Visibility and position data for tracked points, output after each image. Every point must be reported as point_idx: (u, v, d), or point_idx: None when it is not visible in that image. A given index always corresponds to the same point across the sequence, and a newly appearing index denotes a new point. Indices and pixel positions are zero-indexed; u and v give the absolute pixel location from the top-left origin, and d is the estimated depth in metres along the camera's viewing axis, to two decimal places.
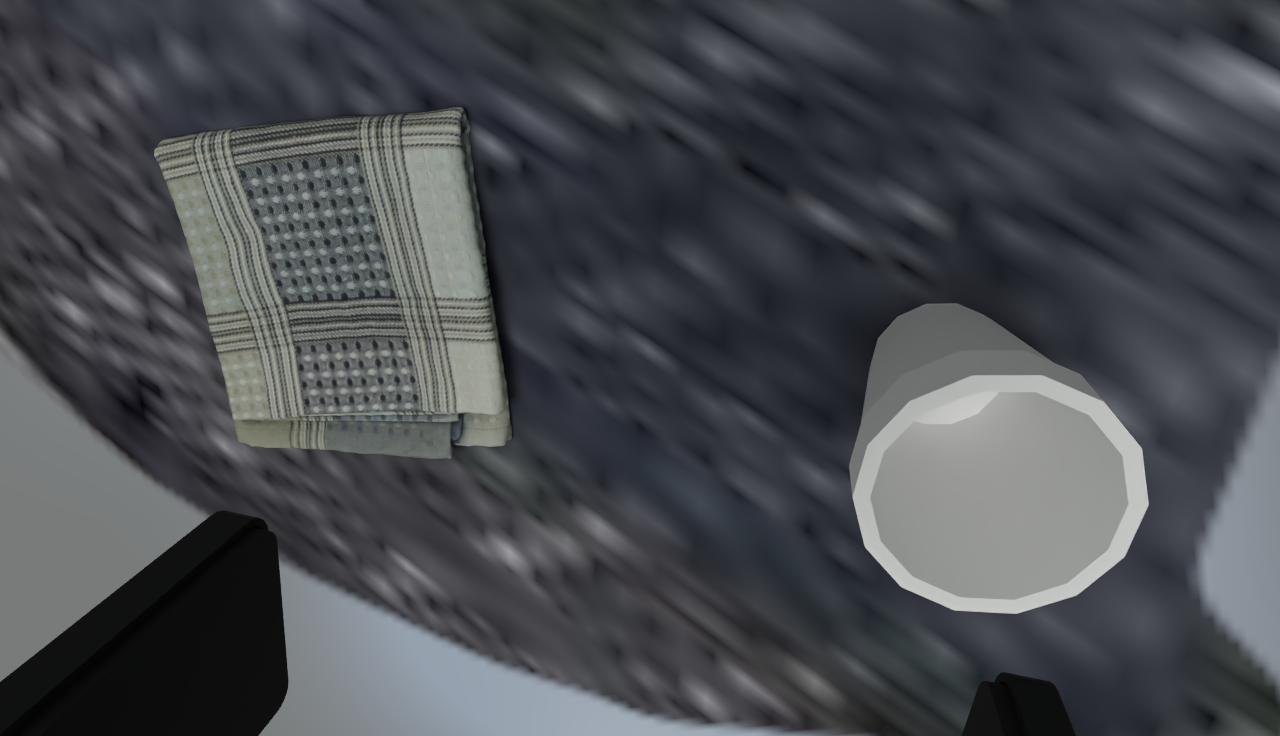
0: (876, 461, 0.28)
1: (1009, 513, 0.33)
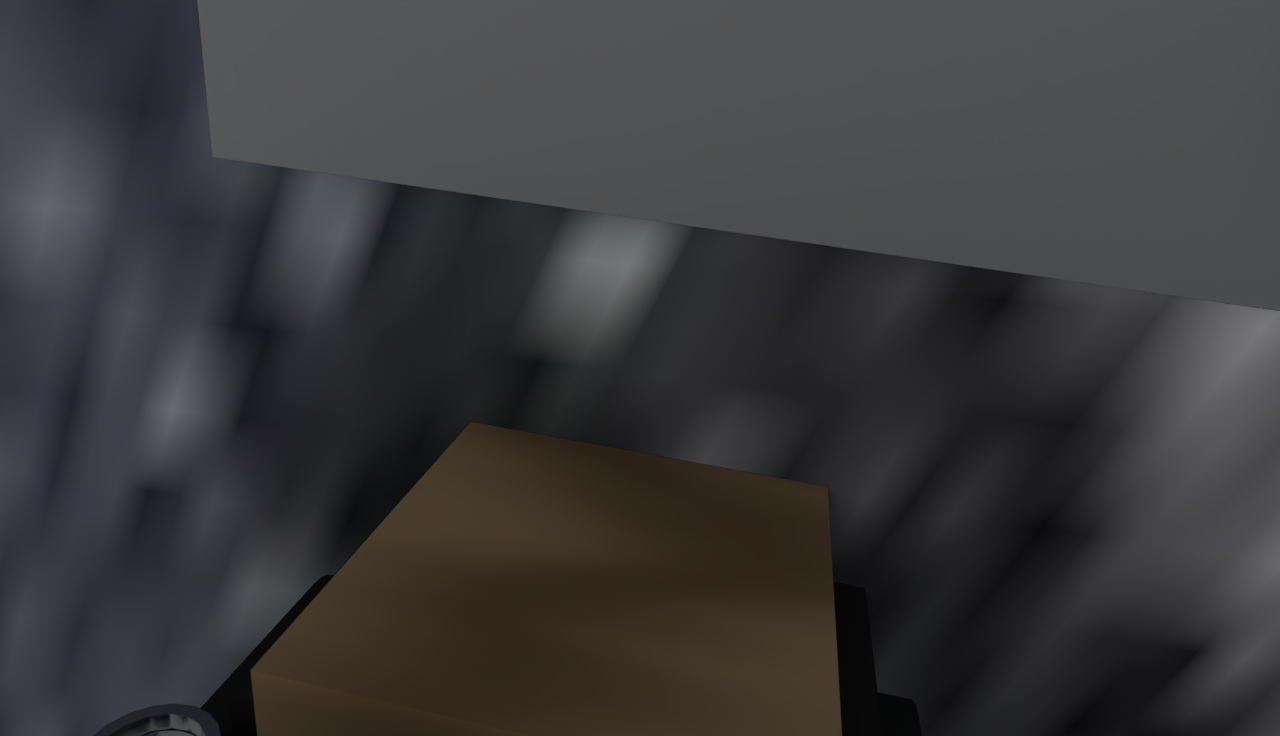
0: None
1: None
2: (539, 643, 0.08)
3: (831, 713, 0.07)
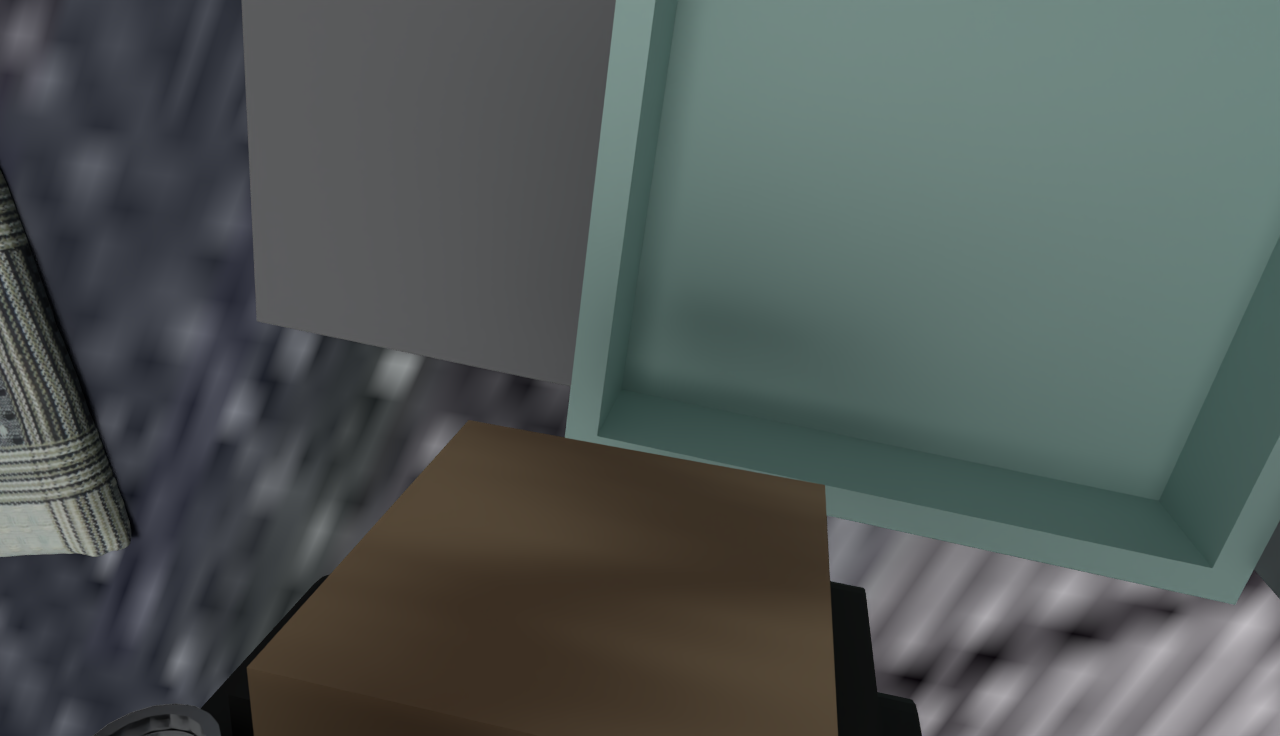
0: None
1: None
2: (535, 640, 0.08)
3: (827, 710, 0.07)
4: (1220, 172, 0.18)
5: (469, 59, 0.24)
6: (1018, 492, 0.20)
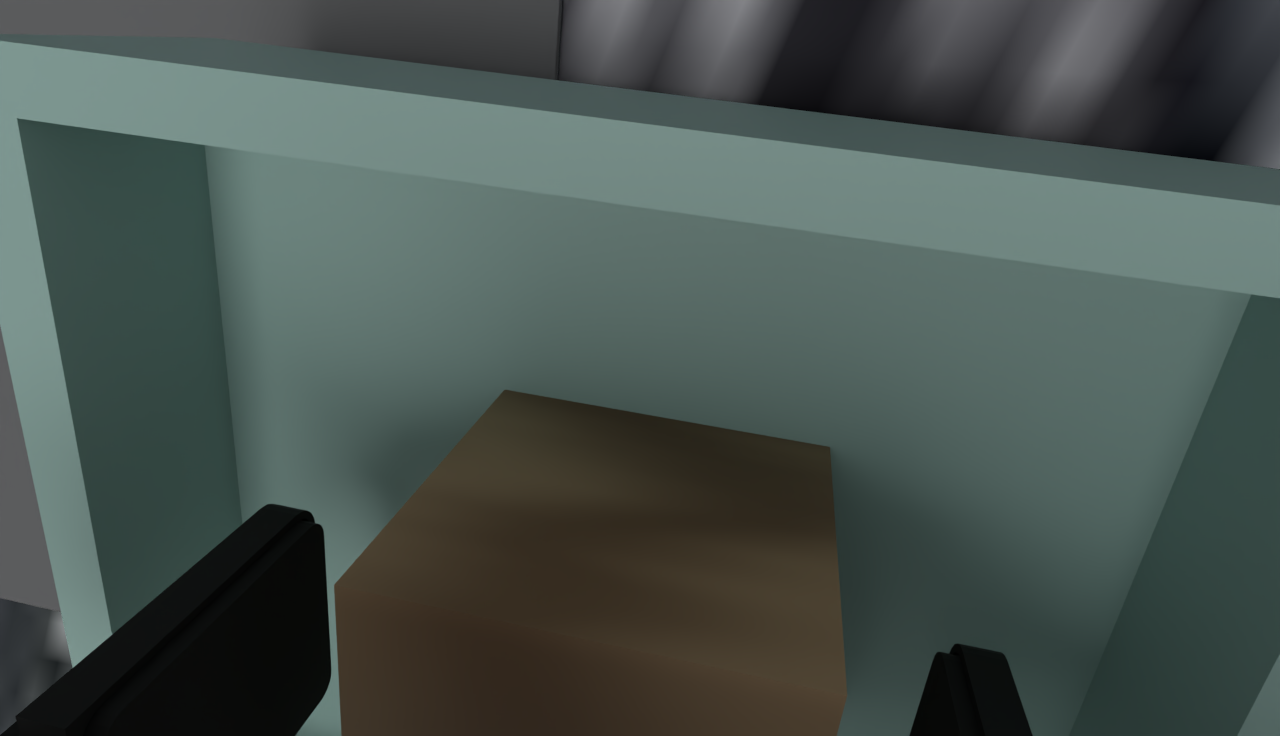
0: None
1: None
2: (578, 568, 0.09)
3: (834, 625, 0.08)
4: (1025, 512, 0.12)
5: None
6: None
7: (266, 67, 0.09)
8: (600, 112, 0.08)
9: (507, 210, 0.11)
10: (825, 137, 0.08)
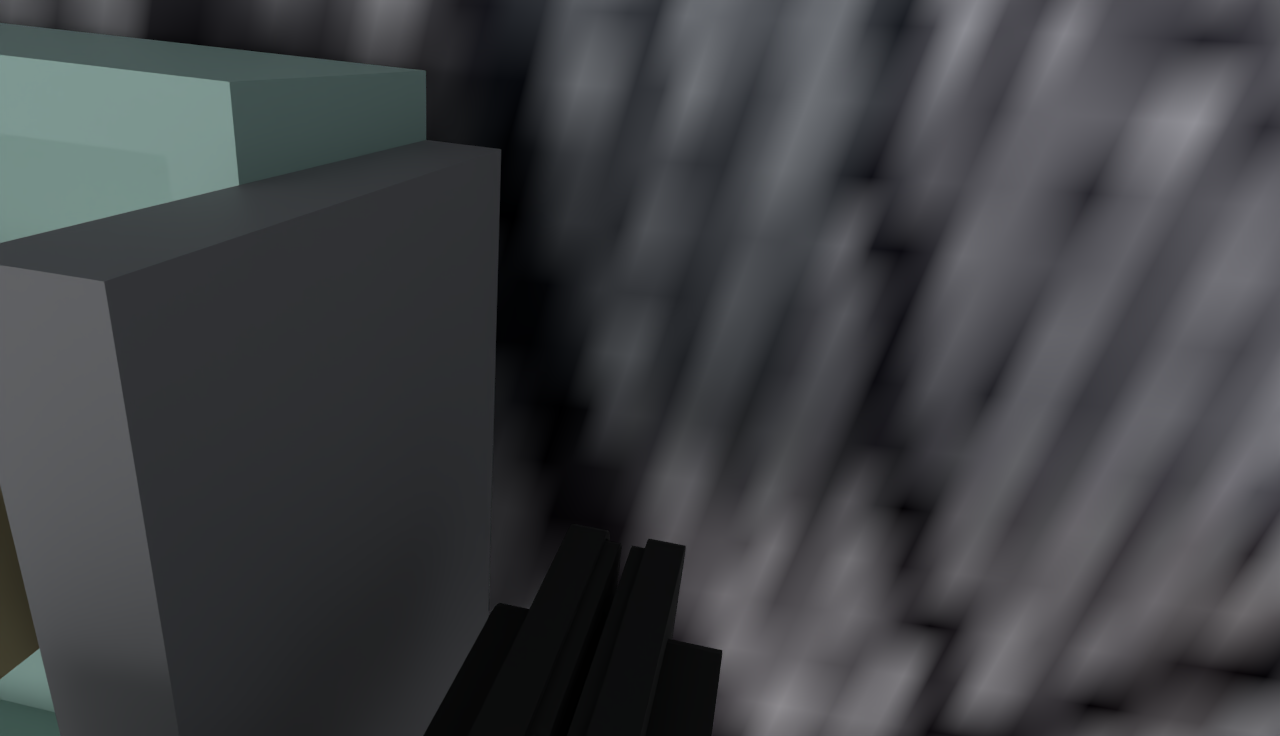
0: None
1: None
2: None
3: None
4: None
5: None
6: None
7: None
8: None
9: None
10: None
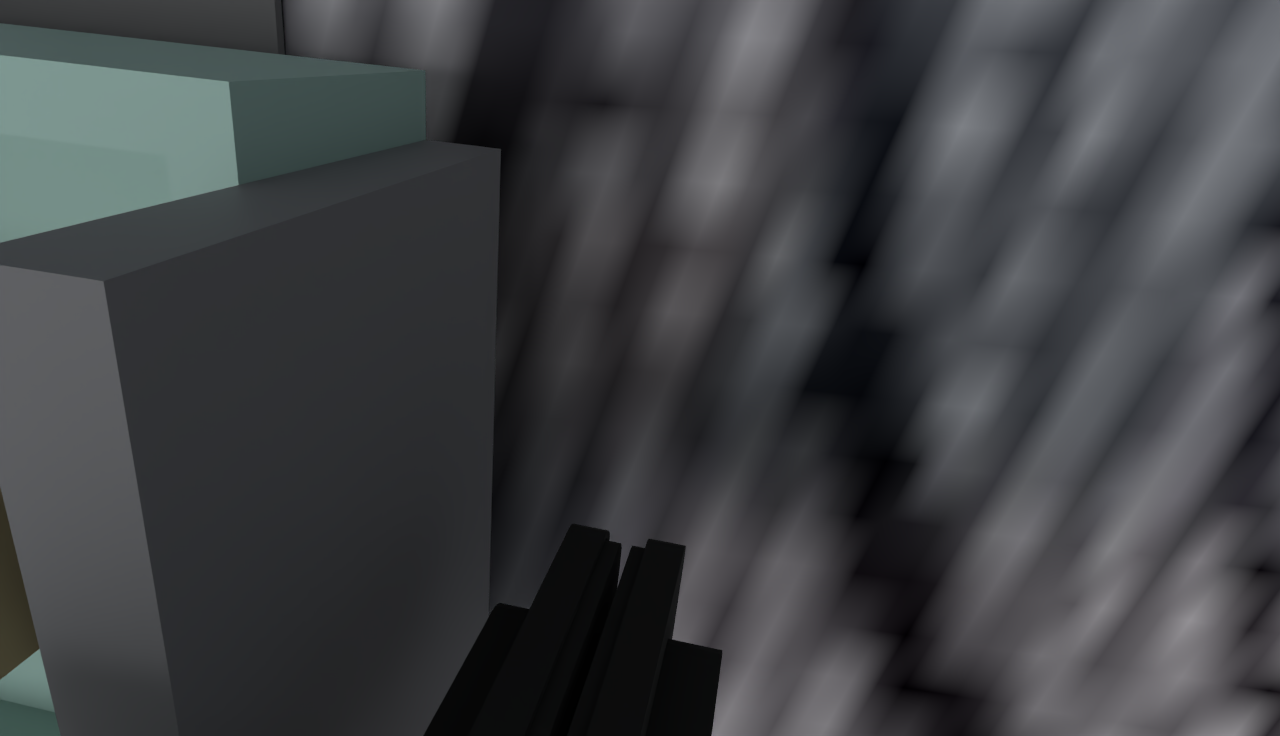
0: None
1: None
2: None
3: None
4: None
5: None
6: None
7: None
8: None
9: None
10: None
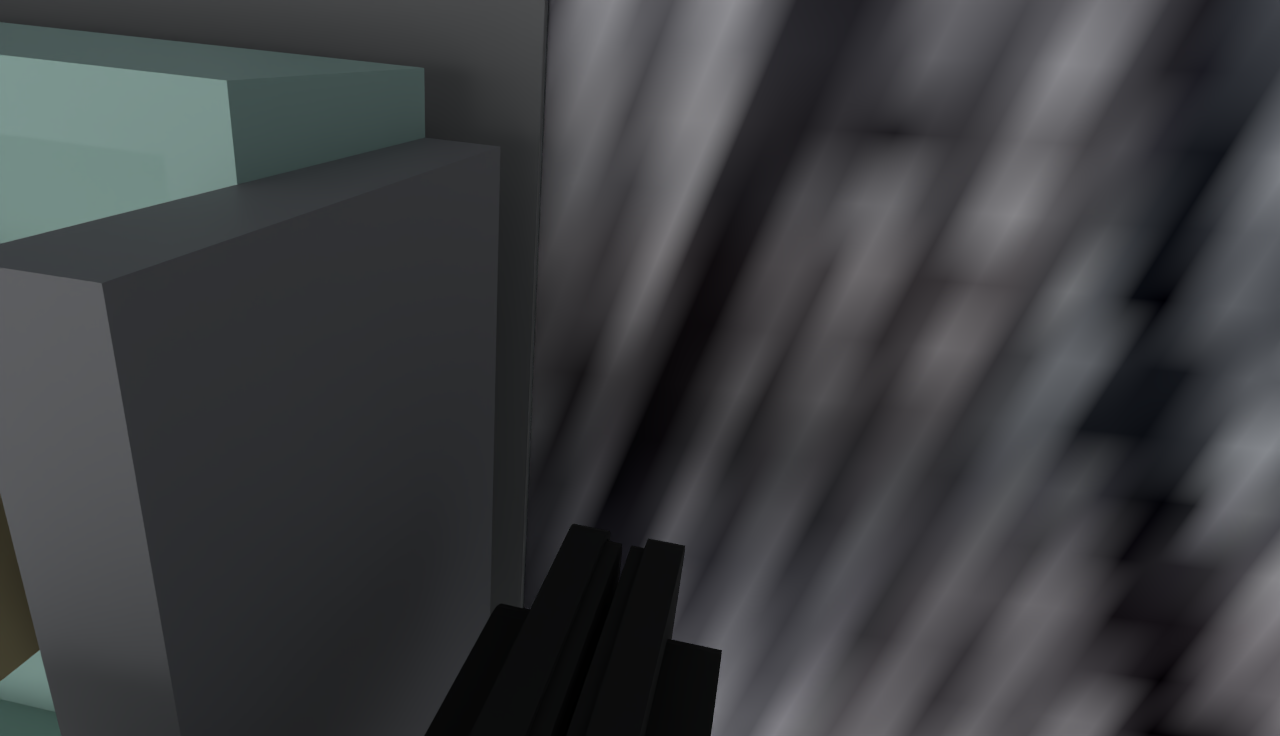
0: None
1: None
2: None
3: None
4: None
5: None
6: None
7: None
8: None
9: None
10: None
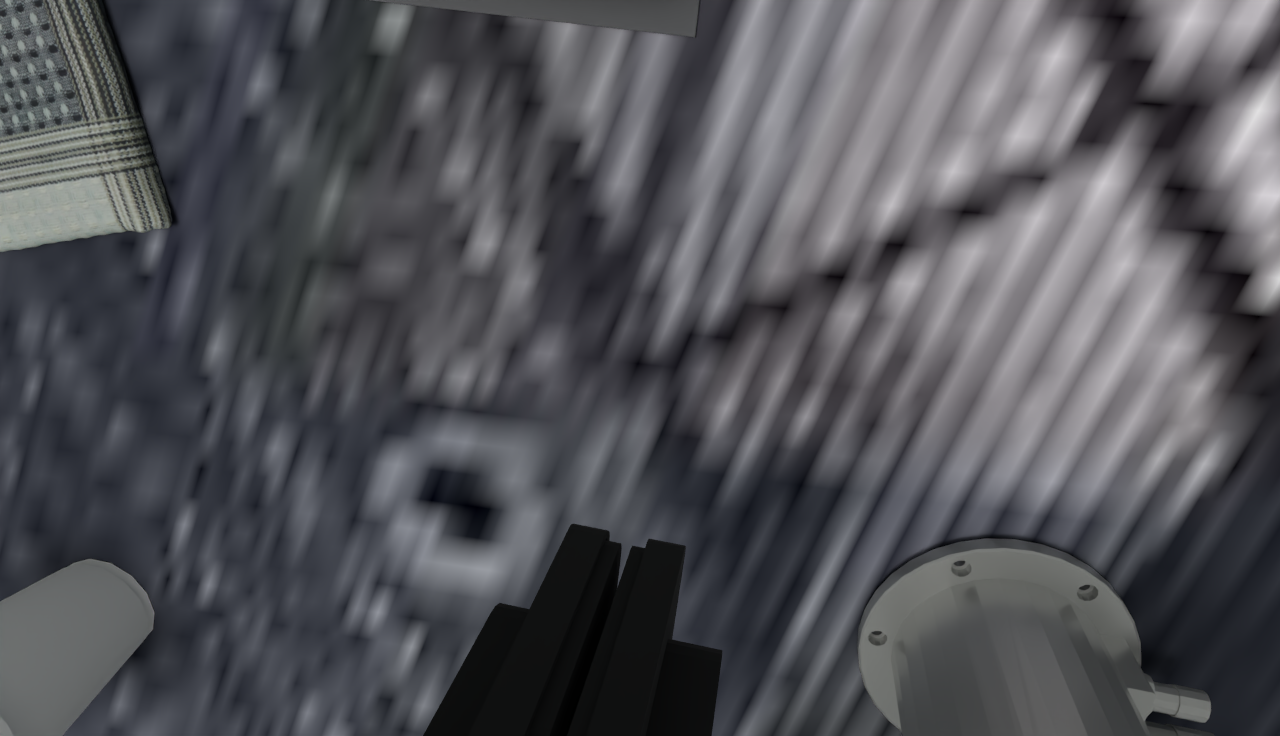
0: None
1: None
2: None
3: None
4: None
5: None
6: None
7: None
8: None
9: None
10: None
